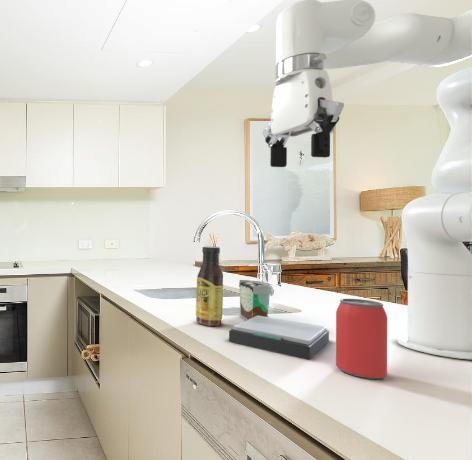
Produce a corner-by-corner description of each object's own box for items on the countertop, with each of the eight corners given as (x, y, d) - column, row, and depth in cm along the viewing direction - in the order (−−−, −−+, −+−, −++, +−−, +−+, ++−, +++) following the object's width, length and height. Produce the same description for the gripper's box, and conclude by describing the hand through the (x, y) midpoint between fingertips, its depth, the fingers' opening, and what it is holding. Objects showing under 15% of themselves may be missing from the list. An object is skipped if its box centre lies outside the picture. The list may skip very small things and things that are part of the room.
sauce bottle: (191, 320, 94) (191, 245, 94) (213, 320, 95) (214, 246, 95) (204, 327, 88) (205, 247, 88) (228, 327, 88) (228, 247, 88)
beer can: (337, 374, 59) (337, 302, 59) (334, 362, 65) (334, 296, 65) (391, 384, 56) (391, 307, 56) (383, 370, 61) (383, 300, 61)
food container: (280, 326, 89) (281, 286, 89) (253, 325, 90) (254, 285, 90) (262, 315, 101) (262, 280, 101) (238, 314, 102) (238, 279, 102)
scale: (256, 327, 88) (256, 314, 88) (328, 341, 77) (329, 326, 77) (228, 341, 77) (229, 326, 77) (309, 359, 66) (309, 342, 66)
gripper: (361, 51, 60) (360, 153, 60) (281, 91, 77) (280, 170, 77) (321, 48, 59) (320, 151, 59) (249, 89, 76) (249, 169, 76)
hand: (298, 162), depth 68 cm, fingers open, 9 cm apart
